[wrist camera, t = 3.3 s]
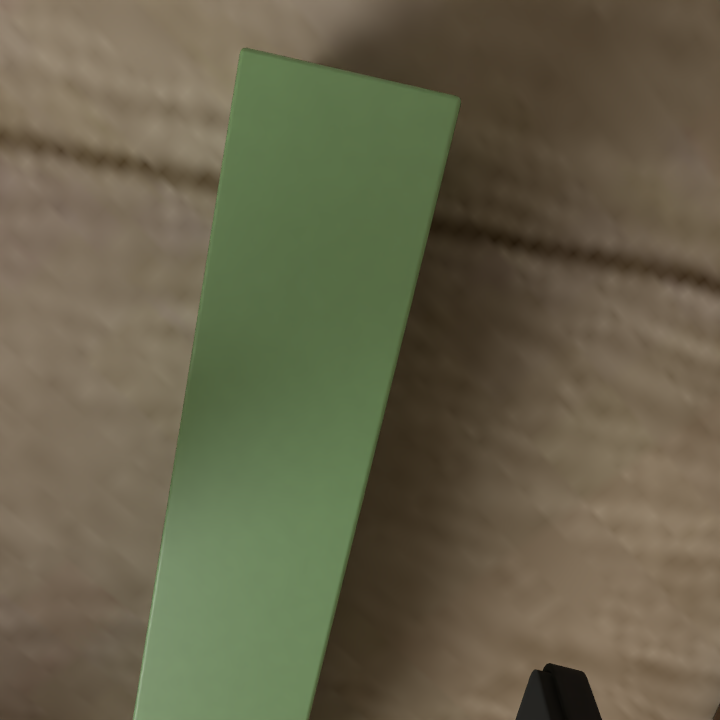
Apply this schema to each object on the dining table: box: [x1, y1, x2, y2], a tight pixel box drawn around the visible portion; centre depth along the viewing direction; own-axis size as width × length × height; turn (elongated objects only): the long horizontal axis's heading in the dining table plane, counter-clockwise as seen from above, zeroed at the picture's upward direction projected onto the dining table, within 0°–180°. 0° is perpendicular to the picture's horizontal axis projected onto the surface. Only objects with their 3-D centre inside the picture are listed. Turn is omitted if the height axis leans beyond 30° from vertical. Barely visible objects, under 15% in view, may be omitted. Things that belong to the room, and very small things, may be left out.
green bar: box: [133, 48, 461, 720], centre depth 14 cm, size 18×4×4 cm, turn 167°
